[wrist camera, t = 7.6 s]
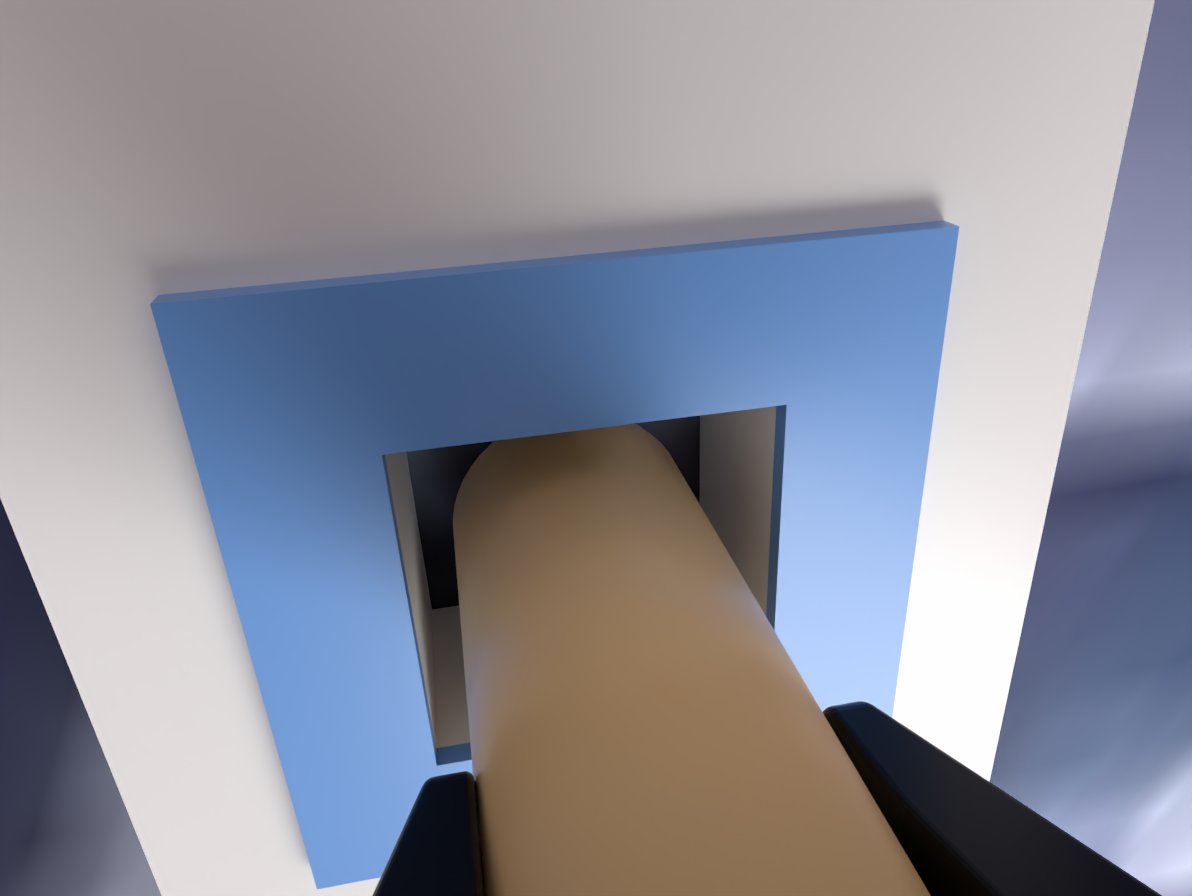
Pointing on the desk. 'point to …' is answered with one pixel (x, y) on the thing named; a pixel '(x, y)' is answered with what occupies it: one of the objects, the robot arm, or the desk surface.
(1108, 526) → the desk surface
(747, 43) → the block
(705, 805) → the grey-capped tan cylinder
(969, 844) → the robot arm
